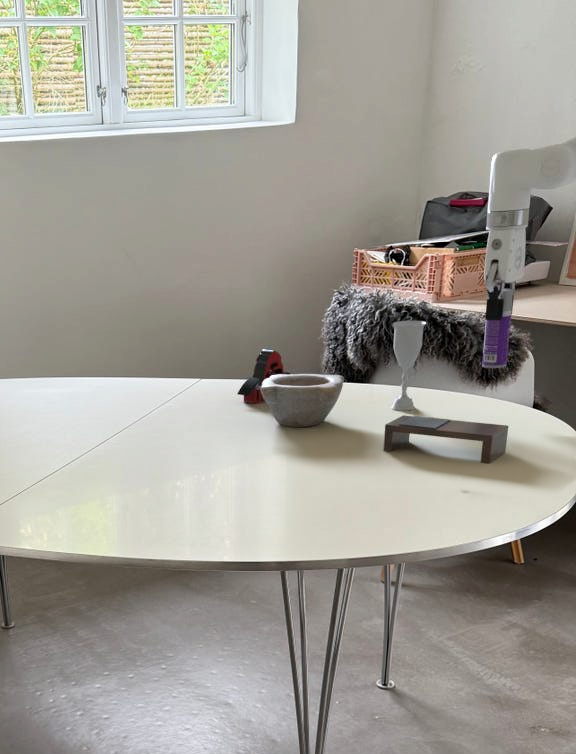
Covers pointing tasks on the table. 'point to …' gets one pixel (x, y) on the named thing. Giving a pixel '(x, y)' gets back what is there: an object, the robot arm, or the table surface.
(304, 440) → the table surface
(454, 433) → the shelf
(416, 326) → the chalice
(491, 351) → the container
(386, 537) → the table surface
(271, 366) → the red black angled piece
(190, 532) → the table surface
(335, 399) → the mortar
